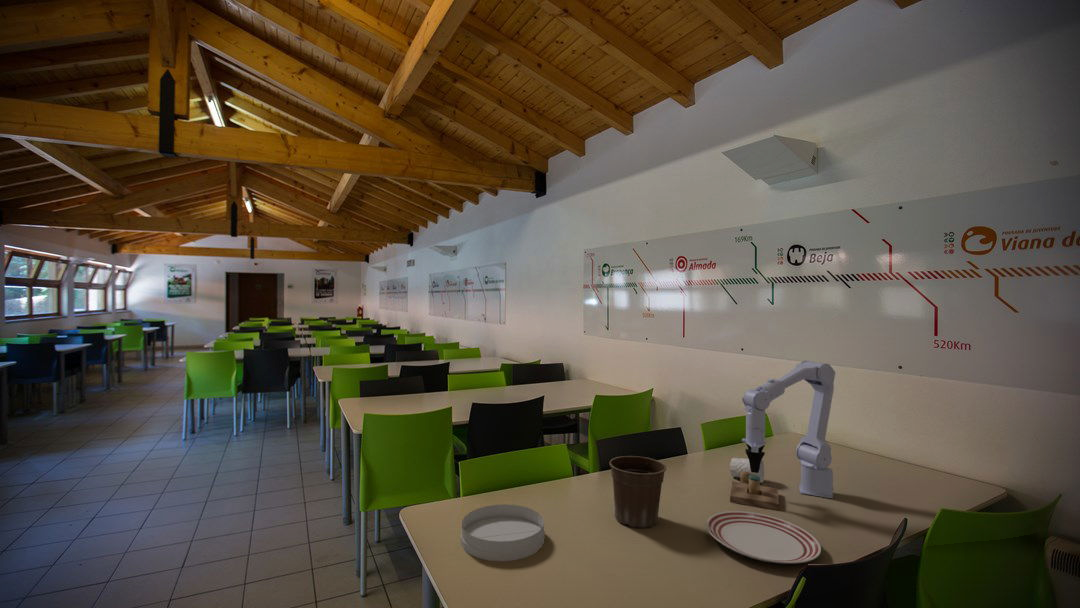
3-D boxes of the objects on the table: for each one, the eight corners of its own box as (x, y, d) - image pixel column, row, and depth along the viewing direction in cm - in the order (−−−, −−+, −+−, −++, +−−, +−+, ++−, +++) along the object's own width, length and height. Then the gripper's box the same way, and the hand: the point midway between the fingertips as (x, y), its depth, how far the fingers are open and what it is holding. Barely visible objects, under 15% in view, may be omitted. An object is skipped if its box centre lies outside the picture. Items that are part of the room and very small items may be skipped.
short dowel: (750, 483, 172) (750, 472, 172) (750, 486, 169) (750, 475, 169) (740, 482, 173) (740, 471, 173) (740, 485, 170) (740, 473, 170)
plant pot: (644, 504, 152) (645, 453, 152) (677, 527, 137) (678, 469, 137) (598, 511, 146) (599, 458, 146) (627, 536, 131) (628, 476, 131)
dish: (466, 568, 114) (466, 546, 114) (455, 526, 136) (456, 508, 136) (555, 555, 121) (556, 535, 121) (532, 517, 142) (532, 500, 142)
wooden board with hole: (777, 494, 162) (777, 488, 162) (778, 510, 149) (778, 503, 149) (732, 487, 168) (732, 481, 168) (730, 501, 155) (730, 495, 155)
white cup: (731, 483, 177) (761, 487, 171) (727, 465, 175) (757, 469, 169) (737, 468, 183) (765, 473, 177) (733, 451, 181) (762, 455, 174)
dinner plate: (821, 537, 133) (821, 525, 133) (820, 586, 109) (820, 571, 109) (716, 514, 147) (716, 503, 147) (695, 553, 123) (695, 540, 123)
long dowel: (759, 497, 160) (759, 475, 160) (759, 500, 157) (759, 479, 157) (748, 495, 161) (749, 474, 161) (748, 499, 158) (749, 477, 158)
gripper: (743, 421, 167) (742, 460, 167) (741, 430, 154) (740, 473, 154) (765, 423, 164) (765, 463, 164) (765, 433, 151) (765, 477, 151)
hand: (754, 468), depth 159 cm, fingers open, 7 cm apart
